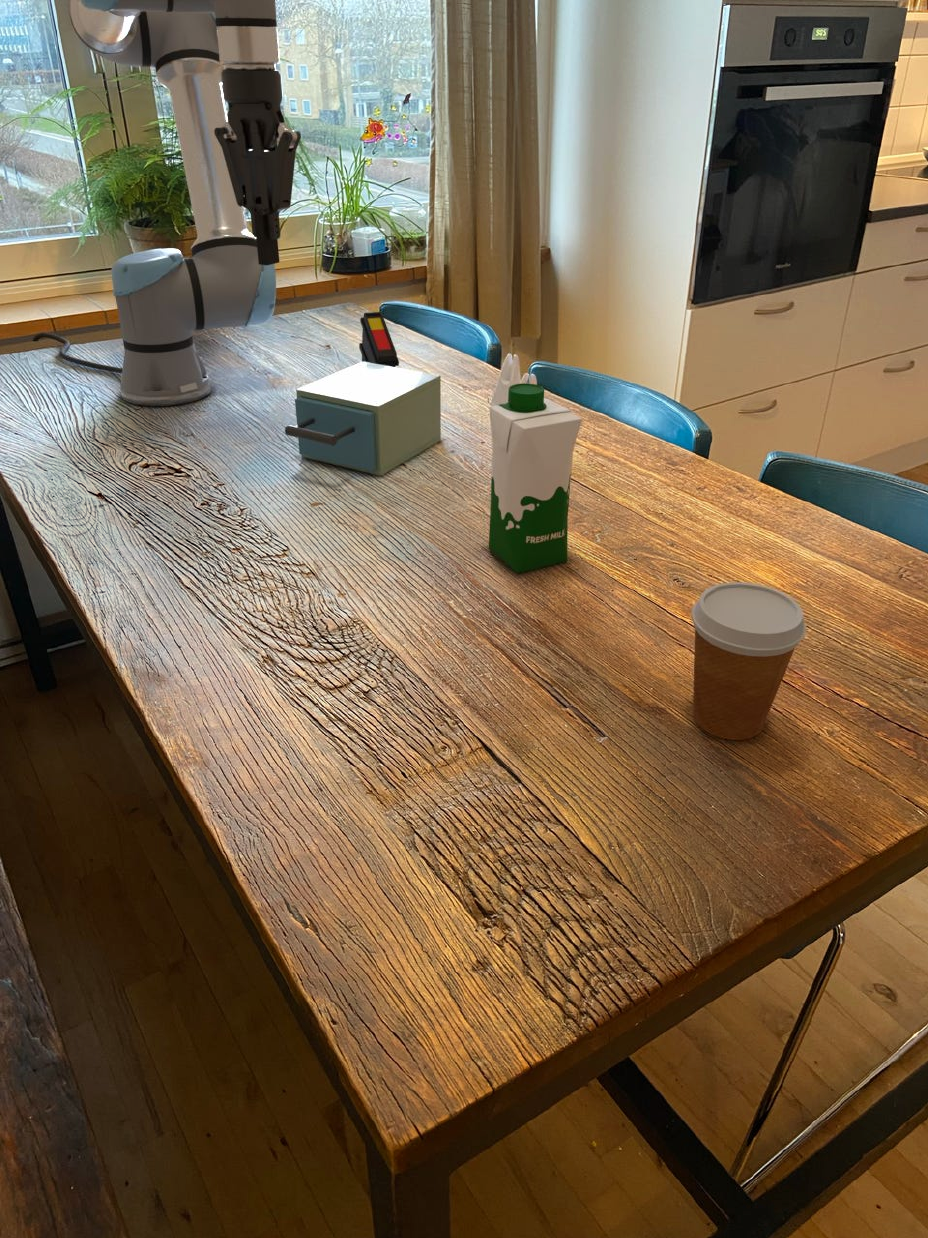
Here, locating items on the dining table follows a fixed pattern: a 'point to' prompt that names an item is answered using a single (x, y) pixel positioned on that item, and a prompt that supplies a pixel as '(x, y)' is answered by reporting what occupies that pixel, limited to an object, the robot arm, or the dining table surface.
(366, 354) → the black switch panel
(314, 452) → the drawer
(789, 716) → the dining table surface
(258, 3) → the robot arm
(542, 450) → the milk carton
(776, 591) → the disposable coffee cup
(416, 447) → the cabinet
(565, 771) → the dining table surface
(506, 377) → the shaker set
